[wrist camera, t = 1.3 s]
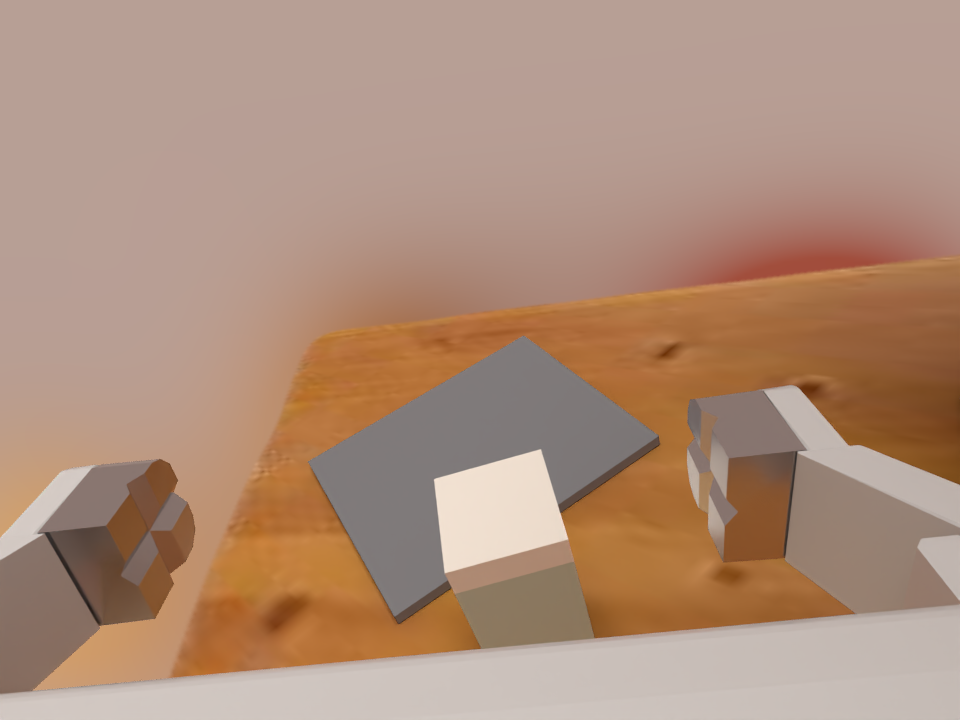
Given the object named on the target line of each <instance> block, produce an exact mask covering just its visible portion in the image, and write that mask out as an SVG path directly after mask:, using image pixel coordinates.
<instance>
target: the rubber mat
mask: <svg viewBox="0 0 960 720" xmlns="http://www.w3.org/2000/svg"><path fill="white" fill-rule="evenodd" d="M659 444H660V442H659V436H658V435H657V434H655V433H654V432H653V431H651V430H650V429H649V428H647V427H646V426H645V425H643V424H642V423H641V422H639V421H638V420H637V419H635V418H634V417H633V416H631V415H630V414H629V413H627V412H626V411H625V410H623V409H622V408H621V407H619V406H618V405H616V404H615V403H614V402H612V401H611V400H610V399H608V398H607V397H606V396H604V395H603V394H602V393H600V392H599V391H598V390H596V389H595V388H594V387H592V386H591V385H590V384H588V383H587V382H586V381H584V380H583V379H582V378H580V377H579V376H578V375H576V374H575V373H573V372H572V371H571V370H569V369H568V368H567V367H565V366H564V365H563V364H561V363H560V362H559V361H557V360H556V359H555V358H553V357H552V356H551V355H549V354H548V353H547V352H545V351H544V350H543V349H541V348H540V347H539V346H537V345H536V344H534V343H533V342H532V341H530V340H529V339H528V338H526V337H525V336H522V337H521V338H519V339H517V340H515V341H514V342H512V343H510V344H509V345H507V346H505V347H503V348H502V349H500V350H498V351H497V352H495V353H493V354H491V355H490V356H488V357H486V358H485V359H483V360H481V361H479V362H478V363H476V364H474V365H473V366H471V367H469V368H467V369H466V370H464V371H462V372H461V373H459V374H457V375H455V376H454V377H452V378H450V379H449V380H447V381H445V382H444V383H442V384H440V385H438V386H437V387H435V388H433V389H432V390H430V391H428V392H426V393H425V394H423V395H421V396H420V397H418V398H416V399H414V400H413V401H411V402H409V403H408V404H406V405H404V406H402V407H401V408H399V409H397V410H396V411H394V412H392V413H390V414H389V415H387V416H385V417H384V418H382V419H380V420H378V421H377V422H375V423H373V424H372V425H370V426H368V427H366V428H365V429H363V430H361V431H360V432H358V433H356V434H354V435H353V436H351V437H349V438H348V439H346V440H344V441H342V442H341V443H339V444H337V445H336V446H334V447H332V448H330V449H329V450H327V451H325V452H324V453H322V454H320V455H319V456H317V457H315V458H313V459H312V460H310V461H308V463H309V464H310V466H311V468H312V470H313V471H314V473H315V475H316V477H317V479H318V480H319V482H320V484H321V486H322V488H323V489H324V491H325V493H326V495H327V497H328V498H329V500H330V502H331V504H332V506H333V507H334V509H335V511H336V513H337V515H338V516H339V518H340V520H341V522H342V524H343V525H344V527H345V529H346V531H347V533H348V534H349V536H350V538H351V540H352V542H353V543H354V545H355V547H356V549H357V551H358V552H359V554H360V556H361V558H362V560H363V561H364V563H365V565H366V567H367V569H368V570H369V572H370V574H371V576H372V578H373V579H374V581H375V583H376V585H377V586H378V588H379V590H380V592H381V594H382V595H383V597H384V599H385V601H386V603H387V604H388V606H389V608H390V610H391V612H392V613H393V615H394V617H395V619H396V620H397V622H398V624H399V623H401V622H402V621H404V620H405V619H407V618H408V617H410V616H411V615H412V614H414V613H415V612H417V611H418V610H420V609H421V608H423V607H424V606H426V605H427V604H428V603H430V602H431V601H433V600H434V599H436V598H437V597H439V596H440V595H442V594H443V593H444V592H446V591H447V590H449V589H450V588H452V587H451V585H450V583H449V581H448V579H447V577H446V575H445V572H444V563H443V554H442V546H441V537H440V528H439V519H438V510H437V501H436V492H435V483H434V479H436V478H439V477H443V476H447V475H450V474H454V473H457V472H461V471H464V470H468V469H472V468H475V467H479V466H482V465H486V464H489V463H493V462H497V461H500V460H504V459H507V458H511V457H514V456H518V455H522V454H525V453H529V452H532V451H536V450H539V449H541V451H542V455H543V458H544V461H545V464H546V468H547V471H548V474H549V478H550V481H551V484H552V488H553V491H554V494H555V497H556V501H557V504H558V507H559V511H560V513H561V512H562V511H564V510H565V509H566V508H568V507H569V506H571V505H572V504H574V503H575V502H577V501H578V500H580V499H581V498H582V497H584V496H585V495H587V494H588V493H590V492H591V491H593V490H594V489H596V488H597V487H598V486H600V485H601V484H603V483H604V482H606V481H607V480H609V479H610V478H612V477H613V476H614V475H616V474H617V473H619V472H620V471H622V470H623V469H625V468H626V467H627V466H629V465H630V464H632V463H633V462H635V461H636V460H638V459H639V458H641V457H642V456H643V455H645V454H646V453H648V452H649V451H651V450H652V449H654V448H655V447H657V446H658V445H659Z"/></svg>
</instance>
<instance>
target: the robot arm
mask: <svg viewBox="0 0 960 720" xmlns="http://www.w3.org/2000/svg"><path fill="white" fill-rule="evenodd" d="M688 425H689V427H690V429H691V431H692V433H693V435H694V437H695V438H694V440H693V441H692V442H691V444H690V445H689V446H688V447H687V466H688V473H689V480H690V485H691V489H692V492H693V495H694V498H695V500H696V503H697V505H698V508H699V509H701V510H703V511H704V512H706V513H708V530H709V532H710V535H711V537H712V539H713V541H714V543H715V546H716V548H717V550H718V552H719V554H720V556H721V559H722V561H723V562H737V561H751V560H765V559H778V558H785V561H786V562H787V563H789V564H790V565H791V566H793V567H794V568H795V569H797V570H798V571H799V572H801V573H802V574H803V575H805V576H806V577H807V578H809V579H810V580H812V581H813V582H814V583H816V584H817V585H818V586H820V587H821V588H822V589H824V590H825V591H826V592H828V593H829V594H830V595H832V596H833V597H834V598H836V599H837V600H838V601H840V602H841V603H842V604H844V605H845V606H846V607H848V608H849V609H850V610H852V611H853V612H854V613H856V614H851V615H840V616H829V617H818V618H808V619H797V620H787V621H777V622H767V623H757V624H746V625H735V626H725V627H714V628H703V629H692V630H681V631H670V632H660V633H649V634H638V635H627V636H616V637H606V638H595V639H584V640H573V641H562V642H551V643H541V644H530V645H519V646H508V647H497V648H486V649H476V650H465V651H454V652H443V653H433V654H422V655H412V656H401V657H391V658H380V659H370V660H359V661H349V662H338V663H328V664H317V665H307V666H296V667H285V668H275V669H264V670H253V671H242V672H232V673H221V674H210V675H199V676H188V677H178V678H167V679H156V680H146V681H135V682H124V683H114V684H102V685H92V686H81V687H70V688H59V689H48V690H38V691H32V690H33V689H35V688H36V687H37V686H38V685H39V684H40V683H41V682H42V681H43V680H44V679H45V678H47V677H48V676H49V675H50V674H51V673H52V672H53V671H54V670H55V669H56V668H57V667H59V666H60V665H61V664H62V663H63V662H64V661H65V660H66V659H67V658H68V657H69V656H71V655H72V654H73V653H74V652H75V651H76V650H77V649H78V648H79V647H80V646H81V645H83V644H84V643H85V642H86V641H87V640H88V639H89V638H90V637H91V636H92V635H94V634H95V633H96V632H97V631H98V630H99V629H100V627H99V626H101V625H109V624H118V623H125V622H133V621H140V620H148V619H155V618H156V616H157V614H158V612H159V610H160V609H161V607H162V604H163V603H164V601H165V599H166V597H167V596H168V594H169V592H170V590H171V588H172V586H173V584H174V583H173V580H172V578H171V575H170V573H172V572H173V571H174V570H175V569H177V568H178V567H179V566H181V565H182V564H183V563H184V562H186V560H187V558H188V556H189V554H190V552H191V550H192V547H193V541H194V535H195V525H194V519H193V514H192V512H191V509H190V507H189V505H188V503H187V502H186V501H185V500H183V499H182V498H181V497H179V496H178V495H176V494H175V493H174V489H175V487H176V484H177V482H178V479H177V478H176V475H175V473H174V472H173V470H172V467H171V465H170V464H169V463H167V462H165V461H163V460H161V459H156V460H146V461H135V462H125V463H115V464H114V463H113V464H103V465H92V466H84V467H76V468H71V469H67V470H64V471H61V472H60V473H59V474H58V476H57V477H56V478H55V479H54V480H53V481H52V482H51V483H50V485H48V486H47V488H46V489H45V490H44V491H43V492H42V493H41V494H40V495H39V496H38V497H37V499H36V500H35V501H34V502H33V503H32V504H31V505H30V506H29V507H28V508H27V509H26V510H25V512H24V513H23V514H22V515H21V516H20V517H19V518H18V519H17V520H16V521H15V522H14V524H13V525H12V526H11V527H10V528H9V529H8V530H7V531H6V532H5V533H4V534H3V536H2V537H1V538H0V720H960V485H958V484H956V483H953V482H951V481H948V480H946V479H944V478H941V477H939V476H936V475H934V474H931V473H929V472H926V471H924V470H921V469H919V468H916V467H914V466H911V465H909V464H906V463H904V462H901V461H899V460H896V459H894V458H891V457H889V456H886V455H884V454H881V453H879V452H876V451H874V450H871V449H869V448H866V447H864V446H861V445H855V446H849V445H848V444H847V443H846V442H845V441H844V440H843V438H842V437H841V436H840V435H839V434H838V433H837V431H836V430H835V429H834V428H833V427H832V426H831V425H830V423H829V422H828V421H827V420H826V419H825V418H824V417H823V415H822V414H821V413H820V412H819V411H818V410H817V408H816V407H815V406H814V405H813V404H812V403H811V402H810V400H809V399H808V398H807V397H806V396H805V395H804V394H803V392H802V391H801V390H800V389H799V388H798V387H796V386H793V385H789V386H782V387H776V388H769V389H762V390H758V391H750V392H743V393H736V394H728V395H721V396H714V397H706V398H699V399H692V400H690V402H689V407H688Z"/></svg>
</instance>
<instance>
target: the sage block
mask: <svg viewBox="0 0 960 720" xmlns="http://www.w3.org/2000/svg"><path fill="white" fill-rule="evenodd" d="M434 483H435V492H436V501H437V510H438V519H439V528H440V537H441V546H442V554H443V563H444V572H445V575H446V577H447V579H448V581H449V583H450V585H451V587H452V589H453V591H454V593H455V596H456V598H457V600H458V602H459V604H460V606H461V608H462V610H463V612H464V614H465V616H466V618H467V620H468V622H469V624H470V626H471V628H472V630H473V632H474V634H475V636H476V639H477V641H478V643H479V645H480V647H481V649H486V648H497V647H508V646H519V645H530V644H541V643H551V642H562V641H573V640H584V639H595V637H594V633H593V630H592V626H591V622H590V619H589V615H588V611H587V607H586V604H585V600H584V596H583V593H582V589H581V585H580V581H579V578H578V574H577V570H576V567H575V563H574V559H573V555H572V552H571V548H570V544H569V541H568V537H567V534H566V531H565V527H564V524H563V521H562V517H561V514H560V511H559V507H558V504H557V501H556V497H555V494H554V491H553V488H552V484H551V481H550V478H549V474H548V471H547V468H546V464H545V461H544V458H543V455H542V451H541V449H539V450H536V451H532V452H529V453H525V454H522V455H518V456H514V457H511V458H507V459H504V460H500V461H497V462H493V463H489V464H486V465H482V466H479V467H475V468H472V469H468V470H464V471H461V472H457V473H454V474H450V475H447V476H443V477H439V478H436V479H434Z"/></svg>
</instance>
